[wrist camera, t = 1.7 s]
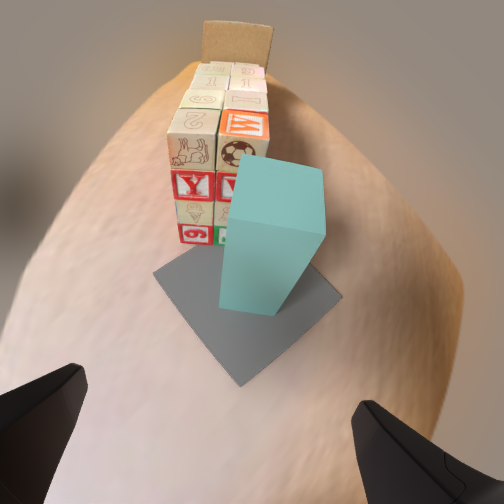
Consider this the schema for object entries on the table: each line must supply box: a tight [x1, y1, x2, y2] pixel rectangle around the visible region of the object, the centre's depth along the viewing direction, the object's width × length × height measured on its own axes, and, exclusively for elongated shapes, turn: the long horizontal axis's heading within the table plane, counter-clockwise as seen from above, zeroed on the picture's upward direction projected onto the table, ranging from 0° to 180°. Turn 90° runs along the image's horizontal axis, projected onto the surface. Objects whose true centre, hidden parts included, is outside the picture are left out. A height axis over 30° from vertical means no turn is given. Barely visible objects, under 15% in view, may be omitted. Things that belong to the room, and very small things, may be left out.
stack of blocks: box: [167, 61, 270, 246], centre depth 26 cm, size 21×6×12 cm, turn 179°
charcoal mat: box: [153, 244, 342, 387], centre depth 25 cm, size 12×12×1 cm
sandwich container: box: [202, 21, 274, 75], centre depth 35 cm, size 9×15×15 cm, turn 177°
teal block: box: [219, 153, 326, 316], centre depth 19 cm, size 5×5×12 cm
